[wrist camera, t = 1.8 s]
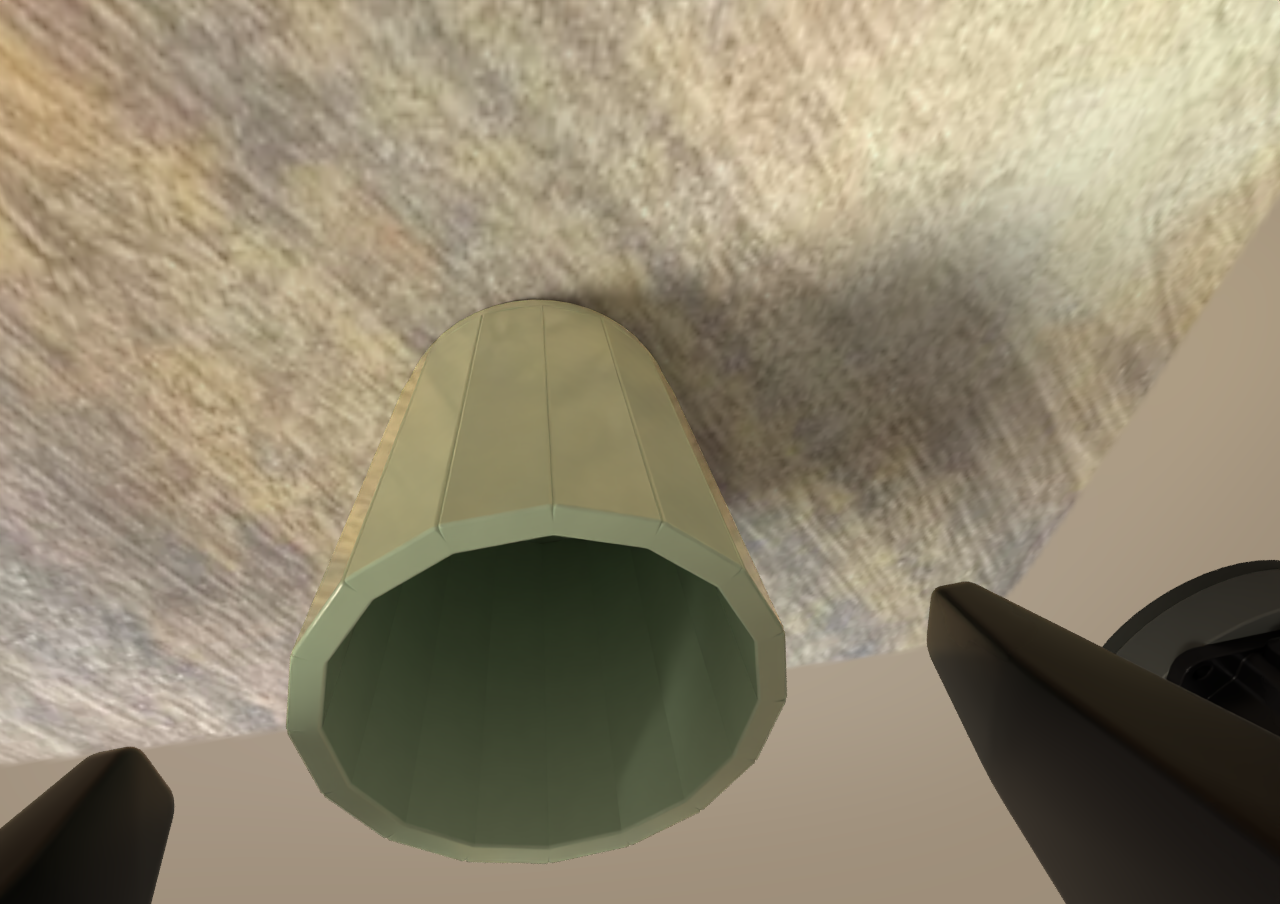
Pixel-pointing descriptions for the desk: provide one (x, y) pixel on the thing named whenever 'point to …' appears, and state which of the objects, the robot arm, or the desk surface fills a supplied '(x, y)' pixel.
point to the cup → (535, 606)
